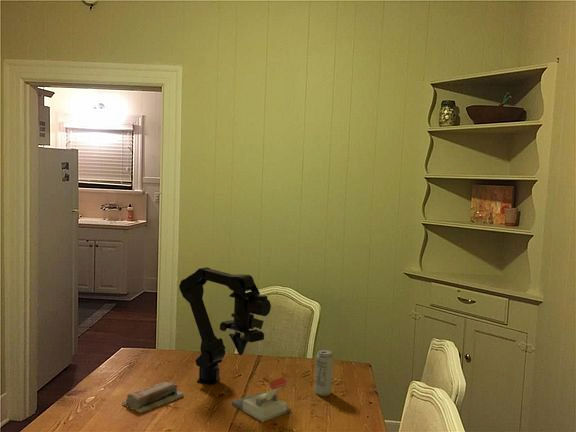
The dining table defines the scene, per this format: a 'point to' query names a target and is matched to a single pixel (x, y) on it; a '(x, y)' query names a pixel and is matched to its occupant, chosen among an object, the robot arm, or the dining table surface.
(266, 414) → the switch panel
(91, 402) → the dining table surface
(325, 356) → the energy drink can
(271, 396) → the switch lever
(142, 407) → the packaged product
